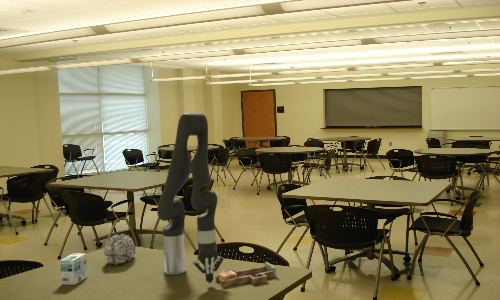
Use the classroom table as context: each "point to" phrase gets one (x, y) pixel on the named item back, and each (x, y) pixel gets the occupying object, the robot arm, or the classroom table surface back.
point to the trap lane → (250, 275)
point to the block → (227, 275)
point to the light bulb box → (73, 268)
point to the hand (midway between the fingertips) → (209, 282)
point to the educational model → (119, 249)
